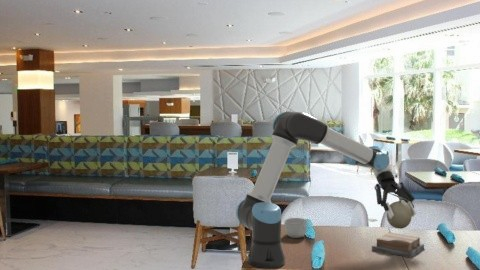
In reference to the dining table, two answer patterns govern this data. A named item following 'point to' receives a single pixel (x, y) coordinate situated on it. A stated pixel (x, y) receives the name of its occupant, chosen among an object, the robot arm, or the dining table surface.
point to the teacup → (295, 227)
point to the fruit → (400, 214)
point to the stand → (398, 244)
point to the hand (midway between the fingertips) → (403, 215)
